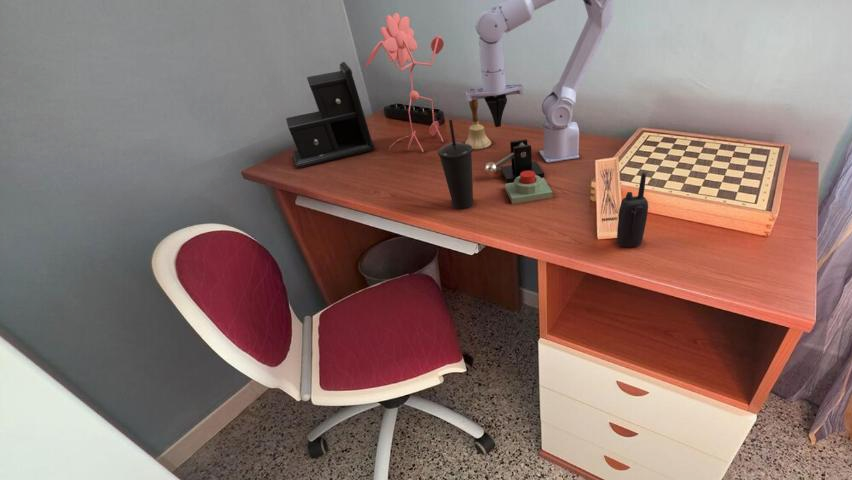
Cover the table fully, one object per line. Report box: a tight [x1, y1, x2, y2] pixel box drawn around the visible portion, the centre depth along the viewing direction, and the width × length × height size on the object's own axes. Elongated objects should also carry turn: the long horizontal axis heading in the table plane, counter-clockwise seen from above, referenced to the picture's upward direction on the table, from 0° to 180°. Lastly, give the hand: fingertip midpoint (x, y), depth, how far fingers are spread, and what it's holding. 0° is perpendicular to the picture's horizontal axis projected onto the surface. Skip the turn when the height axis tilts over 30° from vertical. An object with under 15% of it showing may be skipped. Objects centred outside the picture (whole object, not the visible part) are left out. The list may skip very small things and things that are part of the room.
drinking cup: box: [437, 119, 474, 211], centre depth 96 cm, size 8×8×20 cm
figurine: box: [365, 12, 457, 153], centre depth 123 cm, size 15×26×35 cm, turn 145°
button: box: [520, 171, 535, 184], centre depth 102 cm, size 4×4×2 cm
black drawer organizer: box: [285, 61, 375, 169], centre depth 125 cm, size 23×11×24 cm, turn 116°
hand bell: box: [464, 88, 492, 150], centre depth 126 cm, size 8×8×16 cm
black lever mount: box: [499, 138, 545, 184], centre depth 110 cm, size 10×8×8 cm
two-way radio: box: [616, 172, 649, 248], centre depth 80 cm, size 6×4×15 cm
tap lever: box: [483, 142, 524, 178], centre depth 109 cm, size 12×4×4 cm, turn 102°
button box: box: [504, 175, 554, 205], centre depth 103 cm, size 10×8×4 cm
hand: (497, 125), depth 112 cm, fingers closed
